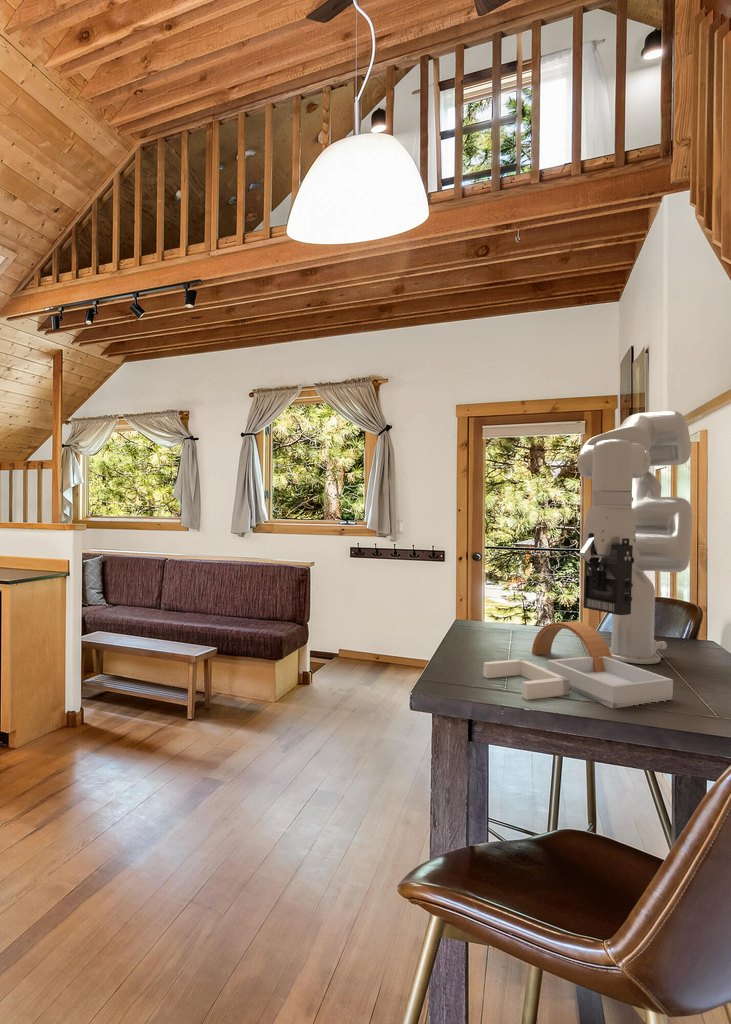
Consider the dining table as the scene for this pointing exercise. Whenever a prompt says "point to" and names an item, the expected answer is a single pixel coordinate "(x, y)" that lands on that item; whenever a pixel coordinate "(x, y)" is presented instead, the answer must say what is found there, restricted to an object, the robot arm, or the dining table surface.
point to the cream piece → (541, 678)
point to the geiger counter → (612, 582)
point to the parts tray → (613, 681)
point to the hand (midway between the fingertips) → (609, 589)
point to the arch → (583, 631)
